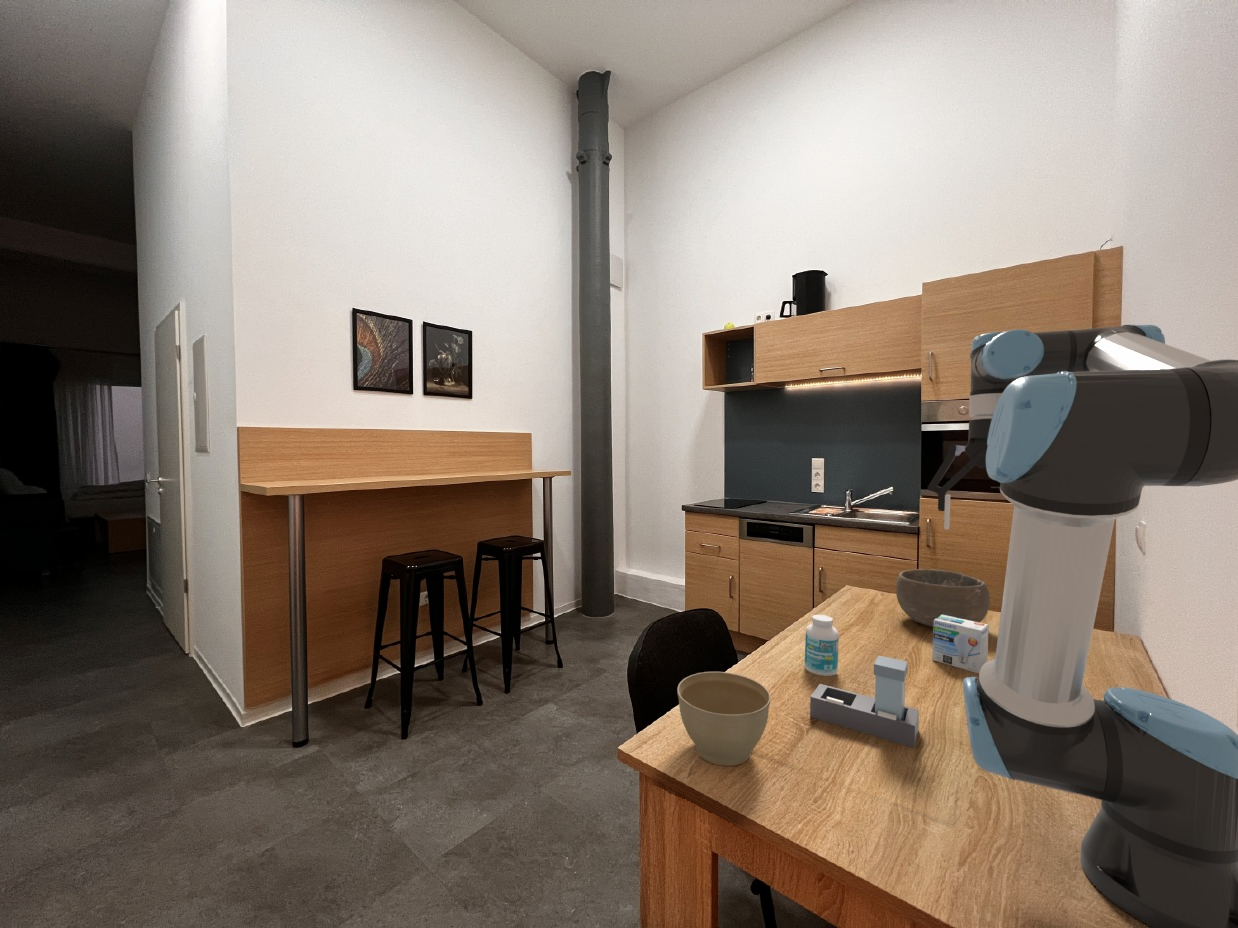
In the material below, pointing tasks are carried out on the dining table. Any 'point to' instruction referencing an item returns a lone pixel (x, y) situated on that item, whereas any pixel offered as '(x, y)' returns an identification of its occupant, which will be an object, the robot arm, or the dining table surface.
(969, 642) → the light bulb box
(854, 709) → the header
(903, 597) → the bowl
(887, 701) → the plug
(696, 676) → the planter bowl
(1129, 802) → the robot arm
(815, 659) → the pill bottle
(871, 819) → the dining table surface
